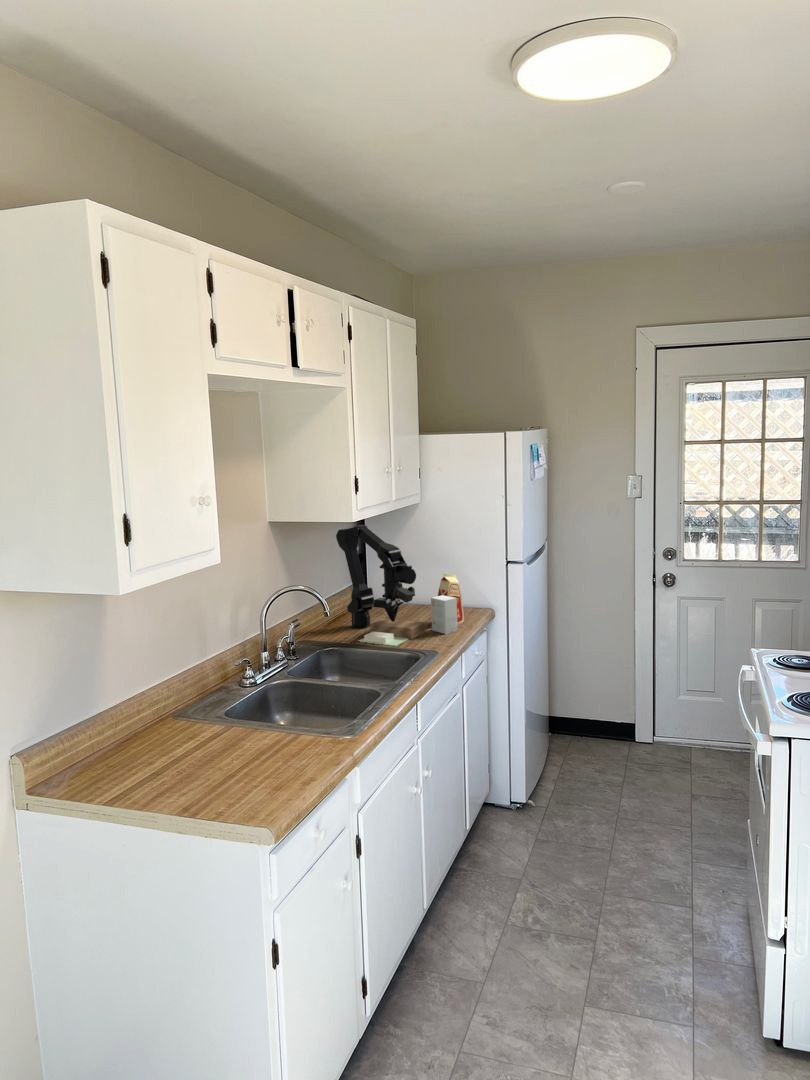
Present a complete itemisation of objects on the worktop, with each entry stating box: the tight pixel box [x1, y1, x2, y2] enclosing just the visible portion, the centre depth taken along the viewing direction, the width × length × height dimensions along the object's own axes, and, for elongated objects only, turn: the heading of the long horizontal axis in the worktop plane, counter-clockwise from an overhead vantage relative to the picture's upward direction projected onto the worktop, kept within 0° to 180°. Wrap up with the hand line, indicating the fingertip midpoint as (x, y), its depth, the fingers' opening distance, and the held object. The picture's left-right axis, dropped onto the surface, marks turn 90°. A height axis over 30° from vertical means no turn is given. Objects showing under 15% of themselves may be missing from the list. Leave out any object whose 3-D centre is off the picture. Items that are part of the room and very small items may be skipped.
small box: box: [430, 595, 458, 635], centre depth 306 cm, size 8×6×13 cm
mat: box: [358, 637, 410, 647], centre depth 296 cm, size 16×10×1 cm, turn 61°
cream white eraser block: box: [363, 632, 394, 643], centre depth 296 cm, size 9×6×2 cm, turn 61°
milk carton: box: [437, 573, 465, 625], centre depth 319 cm, size 9×9×20 cm
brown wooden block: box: [369, 617, 425, 640], centre depth 305 cm, size 18×10×4 cm, turn 61°
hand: (393, 621), depth 304 cm, fingers closed
